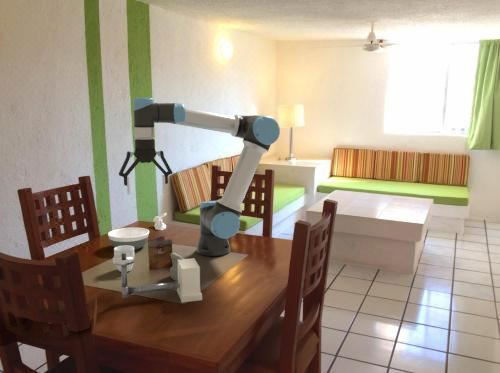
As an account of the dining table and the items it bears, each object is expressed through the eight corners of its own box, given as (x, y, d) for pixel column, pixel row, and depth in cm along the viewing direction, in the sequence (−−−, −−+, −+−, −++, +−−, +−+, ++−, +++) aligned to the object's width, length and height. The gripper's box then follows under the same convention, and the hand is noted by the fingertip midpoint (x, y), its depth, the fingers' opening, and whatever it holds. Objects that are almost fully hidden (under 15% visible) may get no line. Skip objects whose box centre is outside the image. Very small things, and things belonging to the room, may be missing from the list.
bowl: (158, 247, 215) (157, 230, 214) (128, 258, 199) (127, 239, 198) (130, 241, 225) (129, 225, 223) (99, 251, 209) (98, 233, 208)
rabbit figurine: (151, 229, 249) (151, 211, 248) (165, 227, 252) (164, 210, 251) (156, 234, 238) (156, 216, 237) (171, 232, 241) (170, 215, 240)
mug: (140, 273, 181) (139, 250, 179) (120, 277, 176) (119, 253, 175) (131, 265, 190) (130, 244, 188) (112, 269, 185) (111, 247, 184)
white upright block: (195, 287, 166) (195, 257, 165) (202, 300, 155) (201, 267, 153) (176, 289, 164) (175, 259, 162) (181, 302, 153) (181, 270, 151)
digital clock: (196, 283, 170) (196, 260, 169) (176, 286, 168) (175, 262, 166) (187, 271, 183) (186, 249, 182) (168, 274, 180) (167, 251, 179)
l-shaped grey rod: (178, 287, 162) (177, 244, 159) (181, 294, 155) (180, 249, 153) (114, 294, 155) (112, 249, 153) (114, 302, 149) (112, 255, 146)
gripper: (175, 137, 182) (176, 189, 186) (110, 138, 175) (113, 192, 178) (178, 138, 175) (179, 193, 179) (110, 139, 168) (113, 196, 171)
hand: (146, 193), depth 179 cm, fingers open, 13 cm apart
